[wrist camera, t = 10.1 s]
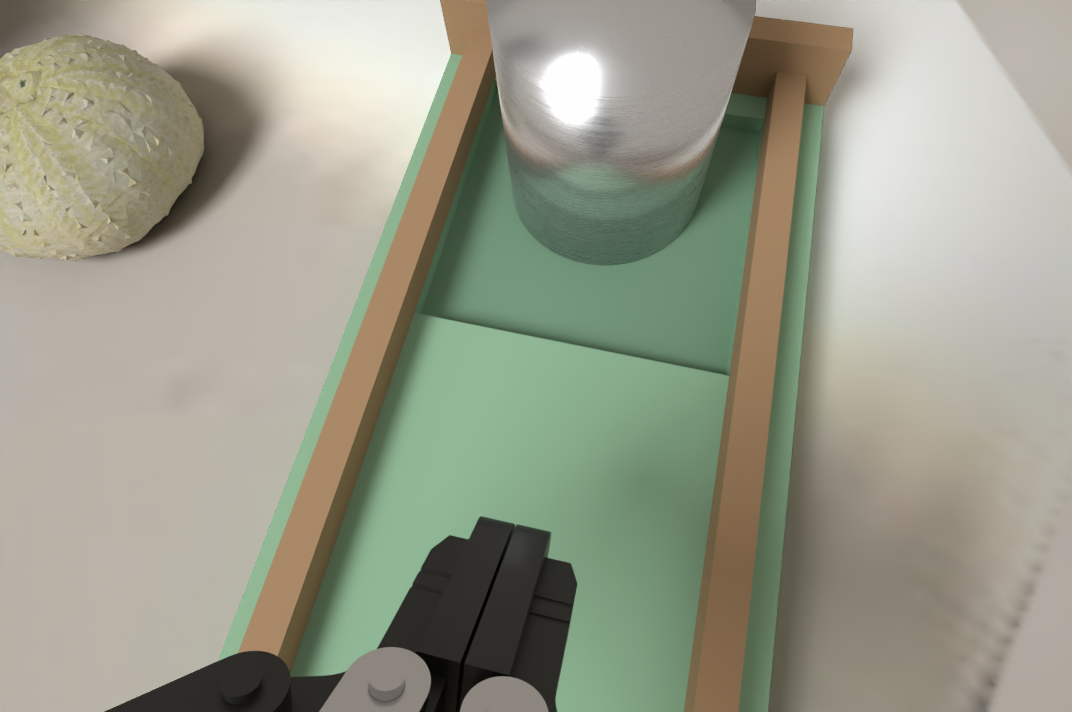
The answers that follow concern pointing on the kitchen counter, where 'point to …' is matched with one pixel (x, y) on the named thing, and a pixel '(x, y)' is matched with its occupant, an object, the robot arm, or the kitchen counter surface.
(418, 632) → the robot arm
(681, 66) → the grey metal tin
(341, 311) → the kitchen counter surface
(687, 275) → the green railed board
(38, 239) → the sea urchin shell
